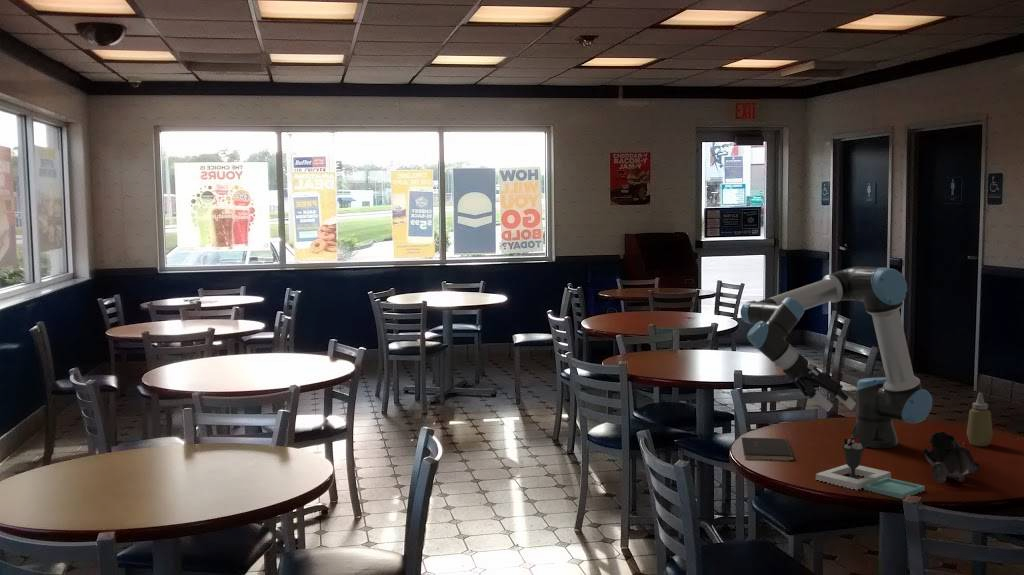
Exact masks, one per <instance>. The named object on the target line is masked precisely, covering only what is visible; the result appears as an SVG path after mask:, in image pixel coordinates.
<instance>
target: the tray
mask: <svg viewBox="0 0 1024 575" xmlns="http://www.w3.org/2000/svg"><path fill="white" fill-rule="evenodd" d="M925 487H926V486H925V485H922V484H917V483H914V482H913V483H912V482H908V481H905V480H899V479H895V478H892V477H891V478H887V477H886V478H883V479H881V480H878V481H875V482H872V483H869V484H866V485H864V488H863V490H864V491H867V490H868V491H867V492H871V491H872V492H871V493H874V494H879V495H882V496H883V495H884V496H889V497H892V498H896V499H900V500H904V499H905V498H904V497H905V496H908V495H912V496H914V495H917V494H920V493H923V492H925V491H924V490H925V489H926V488H925ZM922 491H923V492H922ZM919 492H920V493H919ZM903 498H904V499H903Z"/></svg>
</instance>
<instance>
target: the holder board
mask: <svg viewBox="0 0 1024 575" xmlns="http://www.w3.org/2000/svg"><path fill="white" fill-rule="evenodd" d="M847 474H849V475H851V468H850V467H849V466H848V465H847V464H846V463H845V464H844V465H840V466H839V465H838V466H837V467H833V468H831V469H830V468H829V469H828V470H823V471H820V472H817V473H815V481H816V480H819V481H818V482H820V481H823V482H822V483H824V482H827V483H826V484H829V483H831V484H830V485H833V484H834V486H837V485H838V487H841V486H843V487H842V488H845V487H846V488H845V489H849V488H850V489H849V490H853V489H855V490H854V491H859V490H858V489H860V490H862V489H861V488H863V489H864V485H866V484H869V483H872V482H875V481H878V480H881V479H883V478H886V477H887V478H891V479H892V477H891V475H892V473H891V472H890V471H886V470H883V469H877V468H873V467H868V466H865V465H861V464H860V465H859V466H858V467H857V468H856V469H855V475H856V476H857V475H859V477H862V476H864V477H862V478H861V479H855V478H850V477H849V476H845V475H847Z"/></svg>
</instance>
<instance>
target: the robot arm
mask: <svg viewBox="0 0 1024 575" xmlns="http://www.w3.org/2000/svg"><path fill="white" fill-rule="evenodd" d="M906 293H908V284H907V281H906V278H905V276H904V275H903V274H902V272H900V271H899V270H897V269H895V268H890V267H885V266H884V267H883V266H881V267H876V266H862V265H859V266H858V265H856V266H852V267H848V268H845V269H842V270H838V271H836V272H833V273H830V274H827V275H824V276H823V278H822V279H821V280H818V281H816V282H813V283H809V284H806V285H803V286H801V287H798V288H794V289H792V290H791V289H790V290H789V291H785V292H783V293H780V294H776V295H775V296H771V297H768V298H765V299H761V300H758V301H757V300H748V301H746V302H744V303H743V304H742V306H741V308H740V318H741V319H742V321H743V322H744V323H747V324H750V325H752V327H751V328H750V329H749V331H748V332H747V335H746V336H747V337H746V338H747V340H748V341H749V343H751V345H752V346H754V348H756V349H757V350H758V351H760V353H762V354H763V355H764V356H765V357H767V359H769V360H770V361H771V362H772V363H773V364H774V367H775V368H779V370H782V372H783V373H784V374H785V375H786V376H788V378H790V379H791V380H792V381H793V382H794V383H795V384H796V386H797V388H799V390H800V391H801V392H802V394H803V396H805V397H809V398H811V399H813V401H815V402H816V403H817V405H819V406H820V407H822V409H824V410H825V411H826V412H829V411H830V410H831V409H832V408H833V406H834V404H833V403H832V402H830V401H829V400H828V399H827V398H826V397H825V396H824V395H822V393H820V392H819V391H818V389H816V388H815V387H814V386H816V387H817V386H819V387H820V388H822V389H824V390H826V391H827V392H829V393H832V395H833V397H835V398H836V399H837V400H839V402H841V403H842V404H843V405H844V406H845V407H846V408H848V410H850V411H852V410H853V409H854V407H855V406H856V420H855V424H854V427H853V429H852V432H851V435H850V438H853V437H854V436H857V435H858V434H859V432H860V434H859V435H858V437H857V438H858V439H859V440H860V441H859V442H860V443H861V444H862V446H864V447H865V448H868V447H870V448H869V449H888V448H890V449H891V448H895V447H896V446H898V436H897V433H896V429H895V427H894V424H893V420H897V421H902V422H905V423H910V424H919V423H921V422H923V421H924V420H926V419H927V418H928V416H929V414H930V412H931V411H932V407H933V397H932V395H931V393H930V392H929V391H928V390H926V389H923V388H922V384H921V379H920V378H919V377H917V376H915V375H914V374H915V373H914V371H913V365H912V360H911V357H910V352H909V349H908V348H909V347H908V342H907V339H906V334H905V330H904V326H903V321H902V318H901V311H900V309H901V308H902V307H903V301H905V299H906V297H907V294H906ZM841 301H842V302H843V301H857V302H863V305H864V310H865V312H866V313H867V314H869V315H871V317H872V323H873V327H874V331H875V335H876V339H877V344H878V349H879V352H880V353H879V354H880V357H881V362H882V366H883V369H884V374H885V376H884V377H865V378H861V379H859V380H858V381H857V383H856V389H855V392H856V393H855V395H856V400H854V399H853V398H851V397H850V396H849V395H848V394H847V393H846V392H845V391H843V388H844V386H843V384H840V383H839V382H837V381H836V380H835V379H833V378H831V377H829V376H828V375H826V374H825V373H823V372H822V371H820V370H819V369H818V368H817V367H813V369H811V368H809V367H808V365H809V361H808V359H806V358H805V357H804V356H803V355H802V354H800V353H799V351H798V350H796V348H795V347H793V346H792V345H791V344H790V343H789V342H787V340H786V338H787V337H788V335H789V334H790V332H791V331H792V330H793V329H794V327H795V326H796V325H797V324H798V322H800V319H801V318H802V317H803V315H804V313H805V311H807V310H809V309H811V308H814V307H817V306H818V307H819V306H820V305H823V304H827V303H829V302H830V303H839V302H841Z"/></svg>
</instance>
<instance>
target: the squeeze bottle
mask: <svg viewBox="0 0 1024 575" xmlns="http://www.w3.org/2000/svg"><path fill="white" fill-rule="evenodd" d="M988 408H989V404H988V403H986V402H985V400H984V395H983V392H978V393H977V397H976V400H975V402H973V403H972V408H971V409H970V410H969V413H968V421H967V427H966V435H967V439H968V442H969V444H970V445H971V446H976V447H988V446H989V445H990V444H991V441H992V438H993V436H994V435H993V424H992V422H993V421H992V413H991V410H989V409H988Z"/></svg>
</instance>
